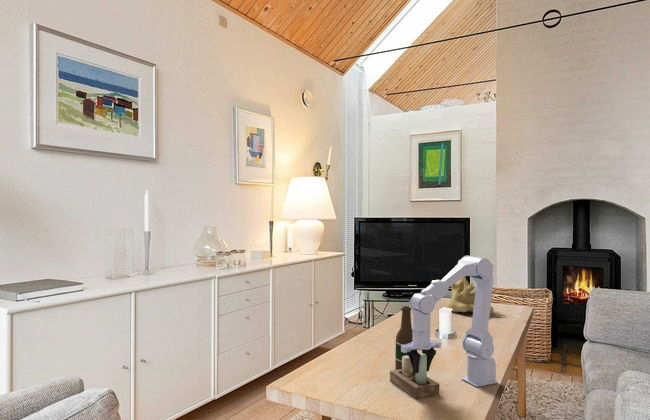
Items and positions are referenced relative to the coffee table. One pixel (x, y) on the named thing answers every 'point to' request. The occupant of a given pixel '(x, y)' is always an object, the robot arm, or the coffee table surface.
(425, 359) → the green peg
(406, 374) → the birch peg
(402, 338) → the beer bottle
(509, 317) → the coffee table surface
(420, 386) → the socket board
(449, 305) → the decorative coral
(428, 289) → the robot arm
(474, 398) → the coffee table surface
